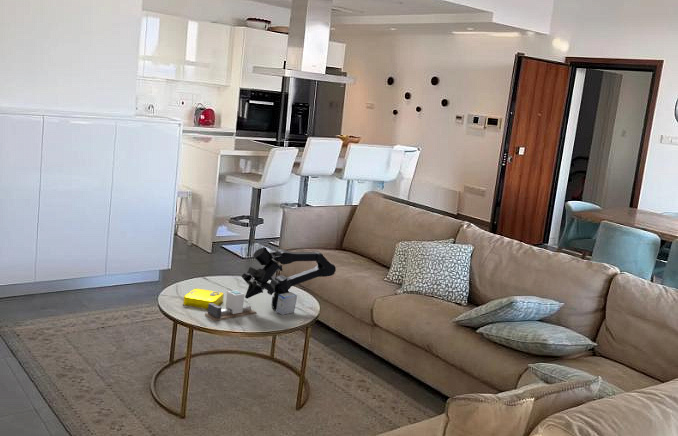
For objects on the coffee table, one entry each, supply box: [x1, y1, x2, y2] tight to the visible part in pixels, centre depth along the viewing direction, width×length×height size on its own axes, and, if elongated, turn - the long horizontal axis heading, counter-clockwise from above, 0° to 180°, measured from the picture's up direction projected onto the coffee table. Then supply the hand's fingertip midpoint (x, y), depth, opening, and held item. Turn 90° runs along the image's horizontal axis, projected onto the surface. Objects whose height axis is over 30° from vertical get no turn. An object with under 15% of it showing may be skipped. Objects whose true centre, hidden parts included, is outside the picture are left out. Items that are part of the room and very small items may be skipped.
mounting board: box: [204, 308, 257, 322], centre depth 305 cm, size 22×8×1 cm, turn 134°
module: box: [225, 289, 245, 314], centre depth 305 cm, size 5×6×9 cm
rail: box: [207, 303, 252, 318], centre depth 305 cm, size 20×7×5 cm, turn 134°
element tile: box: [182, 287, 224, 310], centre depth 316 cm, size 15×15×5 cm
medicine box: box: [275, 291, 298, 316], centre depth 316 cm, size 8×4×9 cm, turn 138°
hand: (245, 297), depth 309 cm, fingers closed
